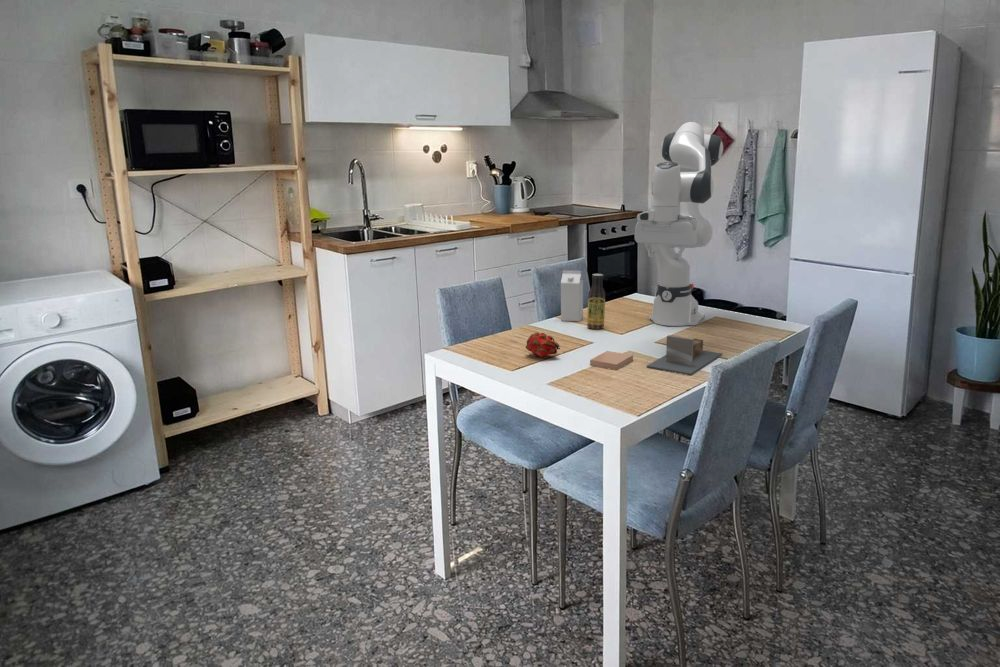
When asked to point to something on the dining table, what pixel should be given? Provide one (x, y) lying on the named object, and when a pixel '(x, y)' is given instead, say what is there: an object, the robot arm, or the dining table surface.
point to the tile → (611, 360)
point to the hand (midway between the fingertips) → (664, 258)
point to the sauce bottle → (596, 303)
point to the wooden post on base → (683, 349)
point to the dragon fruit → (541, 345)
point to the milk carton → (571, 296)
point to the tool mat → (696, 365)
